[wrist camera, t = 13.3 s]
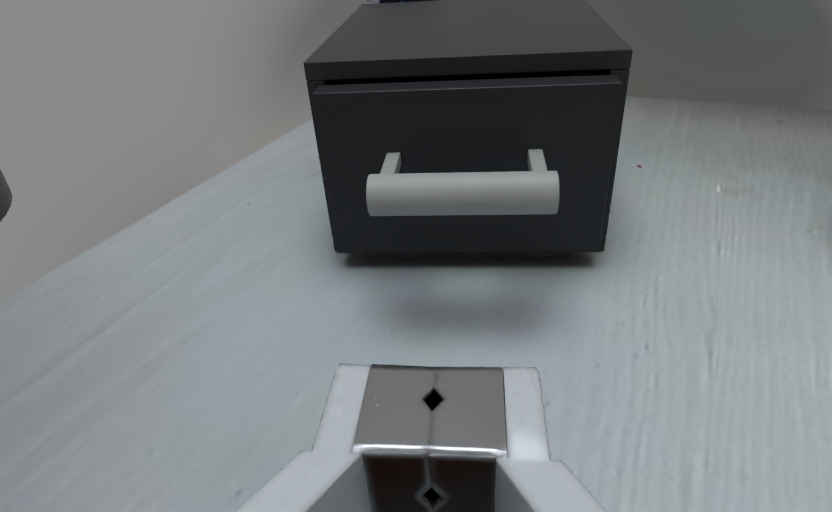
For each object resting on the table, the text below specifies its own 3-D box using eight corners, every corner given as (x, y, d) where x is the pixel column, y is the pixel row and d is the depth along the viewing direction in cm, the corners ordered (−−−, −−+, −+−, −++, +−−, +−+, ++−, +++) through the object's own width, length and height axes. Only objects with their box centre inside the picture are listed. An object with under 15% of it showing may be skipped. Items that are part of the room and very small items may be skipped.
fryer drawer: (619, 310, 22) (651, 120, 18) (316, 307, 24) (280, 130, 20) (562, 142, 37) (573, 16, 33) (378, 146, 39) (365, 26, 34)
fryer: (604, 251, 28) (633, 48, 22) (334, 251, 29) (303, 62, 24) (565, 140, 40) (578, -8, 35) (376, 145, 41) (361, 4, 36)
